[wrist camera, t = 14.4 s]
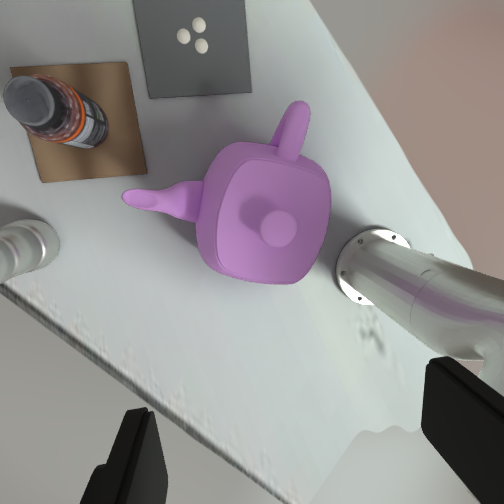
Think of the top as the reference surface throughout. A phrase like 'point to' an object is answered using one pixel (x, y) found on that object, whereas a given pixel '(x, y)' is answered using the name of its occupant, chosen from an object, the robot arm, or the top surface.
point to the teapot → (254, 206)
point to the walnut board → (119, 118)
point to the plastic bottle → (26, 247)
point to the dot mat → (194, 47)
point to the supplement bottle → (56, 111)
